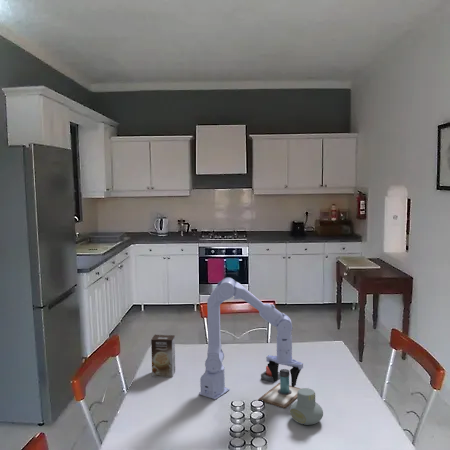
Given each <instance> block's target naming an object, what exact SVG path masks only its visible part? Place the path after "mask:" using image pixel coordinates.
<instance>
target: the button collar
mask: <svg viewBox="0 0 450 450" xmlns="http://www.w3.org/2000/svg"><path fill="white" fill-rule="evenodd" d="M260 380H263V381H267V382H270V383H275V382H274V381H273V377H272V376H269V375H266V370H265V371H264V372H262V373H261V374H260ZM278 380H280V371H278Z"/></svg>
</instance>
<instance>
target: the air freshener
mask: <svg viewBox="0 0 450 450" xmlns="http://www.w3.org/2000/svg"><path fill="white" fill-rule="evenodd" d="M289 413H290V416H291V417H292V419H293V420H294V421H295V422H296V423H298V424H301V425H303V424H304V425H305V426H309V425H315V424H317V423H319V422H320V421H321V420H322V419H323V417H324V410H323V408H322V406H321V405H320V403H317V402H316V391H315V390H313V389H311V388H309V387H301V389H299V390H298V392H297V399H296V400H295V401H293V402H292V403H291V406H290V409H289Z"/></svg>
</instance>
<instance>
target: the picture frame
mask: <svg viewBox="0 0 450 450" xmlns="http://www.w3.org/2000/svg"><path fill="white" fill-rule="evenodd" d="M299 389H302V387H301V388H300V387H296V386H294V387H292V385H290V384H289V393H287V394H284V393H281V392H280V382H279V383H277V384H276V385H275V386H273V387H272V388H270V389H269V390H268V391H266V392H265V393H264V394H263V395H262V396H260V397H259V398H258V401H259V400H263V401H264V402H263V403H266V404H270V405H272V406H275V407H278V408H281V409H287V408H288V407H289V406H290V405H292V404H293V403H294V402H295V401H297V392H298V390H299Z"/></svg>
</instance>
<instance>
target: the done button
mask: <svg viewBox="0 0 450 450" xmlns="http://www.w3.org/2000/svg"><path fill="white" fill-rule="evenodd" d="M265 367H266V368H265V371H266V375H269V376H272V374H271V371H270V369H269V368H268V365H266V366H265Z"/></svg>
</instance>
